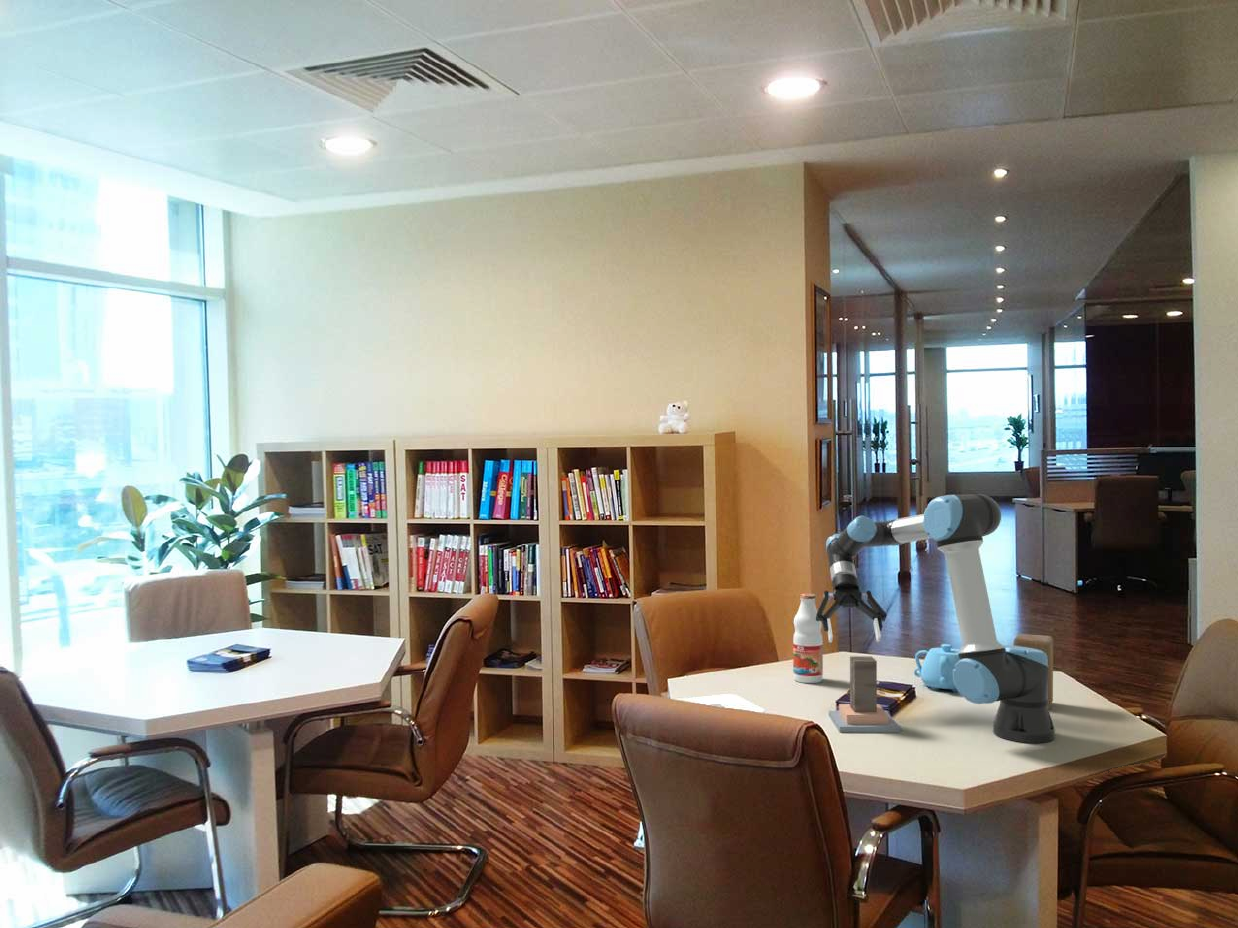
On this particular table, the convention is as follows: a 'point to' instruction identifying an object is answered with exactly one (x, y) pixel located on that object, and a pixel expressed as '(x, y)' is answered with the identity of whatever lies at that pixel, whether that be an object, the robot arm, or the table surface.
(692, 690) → the table surface
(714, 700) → the computer
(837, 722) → the plinth
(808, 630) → the fruit juice
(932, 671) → the decorative pot
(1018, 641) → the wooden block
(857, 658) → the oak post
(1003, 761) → the table surface
